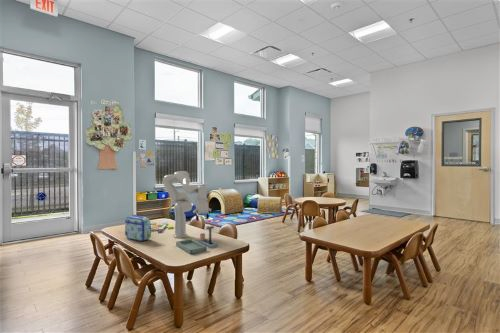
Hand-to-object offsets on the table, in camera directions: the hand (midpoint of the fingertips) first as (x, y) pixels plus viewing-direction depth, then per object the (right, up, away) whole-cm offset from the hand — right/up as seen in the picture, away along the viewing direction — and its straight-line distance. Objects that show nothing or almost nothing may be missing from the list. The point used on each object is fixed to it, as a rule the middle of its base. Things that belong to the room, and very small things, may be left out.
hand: (202, 219), depth 236 cm
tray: (-6, -20, -17) cm, 27 cm away
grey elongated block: (+6, -19, -6) cm, 21 cm away
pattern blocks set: (-56, -19, +46) cm, 75 cm away
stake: (+8, -20, -10) cm, 23 cm away
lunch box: (-60, -19, +9) cm, 63 cm away
